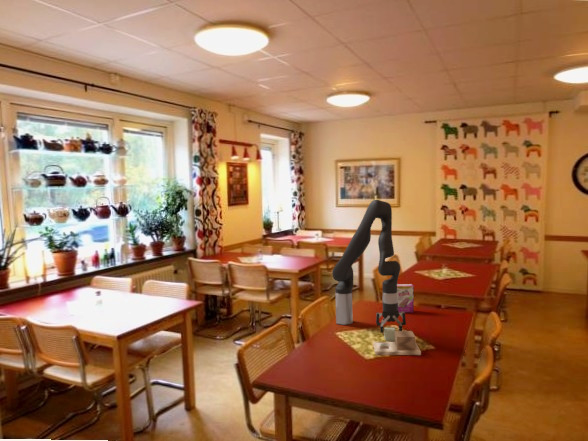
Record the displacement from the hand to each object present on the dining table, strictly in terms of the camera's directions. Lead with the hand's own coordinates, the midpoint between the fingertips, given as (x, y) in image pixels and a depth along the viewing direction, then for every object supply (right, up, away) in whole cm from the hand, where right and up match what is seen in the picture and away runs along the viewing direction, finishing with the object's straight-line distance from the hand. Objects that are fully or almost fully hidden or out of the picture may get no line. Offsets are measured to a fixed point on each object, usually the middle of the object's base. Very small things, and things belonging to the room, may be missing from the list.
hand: (391, 333), depth 205 cm
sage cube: (-1, -3, 0) cm, 3 cm away
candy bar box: (+18, +1, +44) cm, 48 cm away
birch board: (-1, -4, -14) cm, 14 cm away
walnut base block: (+3, -2, -14) cm, 15 cm away
